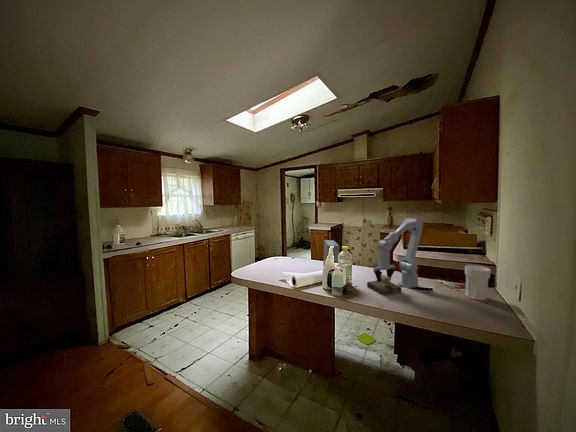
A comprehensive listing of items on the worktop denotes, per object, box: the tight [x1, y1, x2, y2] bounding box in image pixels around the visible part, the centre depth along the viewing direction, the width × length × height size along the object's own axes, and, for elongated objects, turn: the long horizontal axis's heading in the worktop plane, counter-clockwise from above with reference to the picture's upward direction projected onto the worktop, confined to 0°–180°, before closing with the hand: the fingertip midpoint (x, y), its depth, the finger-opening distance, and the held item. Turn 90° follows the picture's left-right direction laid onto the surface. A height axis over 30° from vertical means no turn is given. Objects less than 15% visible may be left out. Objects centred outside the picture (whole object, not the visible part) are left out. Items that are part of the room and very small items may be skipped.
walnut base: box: [366, 280, 402, 296], centre depth 145 cm, size 14×14×3 cm
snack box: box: [322, 239, 340, 268], centre depth 166 cm, size 22×9×26 cm, turn 179°
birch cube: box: [378, 274, 391, 287], centre depth 144 cm, size 5×5×5 cm
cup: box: [464, 264, 492, 302], centre depth 131 cm, size 11×11×17 cm
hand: (383, 280), depth 144 cm, fingers open, 7 cm apart
